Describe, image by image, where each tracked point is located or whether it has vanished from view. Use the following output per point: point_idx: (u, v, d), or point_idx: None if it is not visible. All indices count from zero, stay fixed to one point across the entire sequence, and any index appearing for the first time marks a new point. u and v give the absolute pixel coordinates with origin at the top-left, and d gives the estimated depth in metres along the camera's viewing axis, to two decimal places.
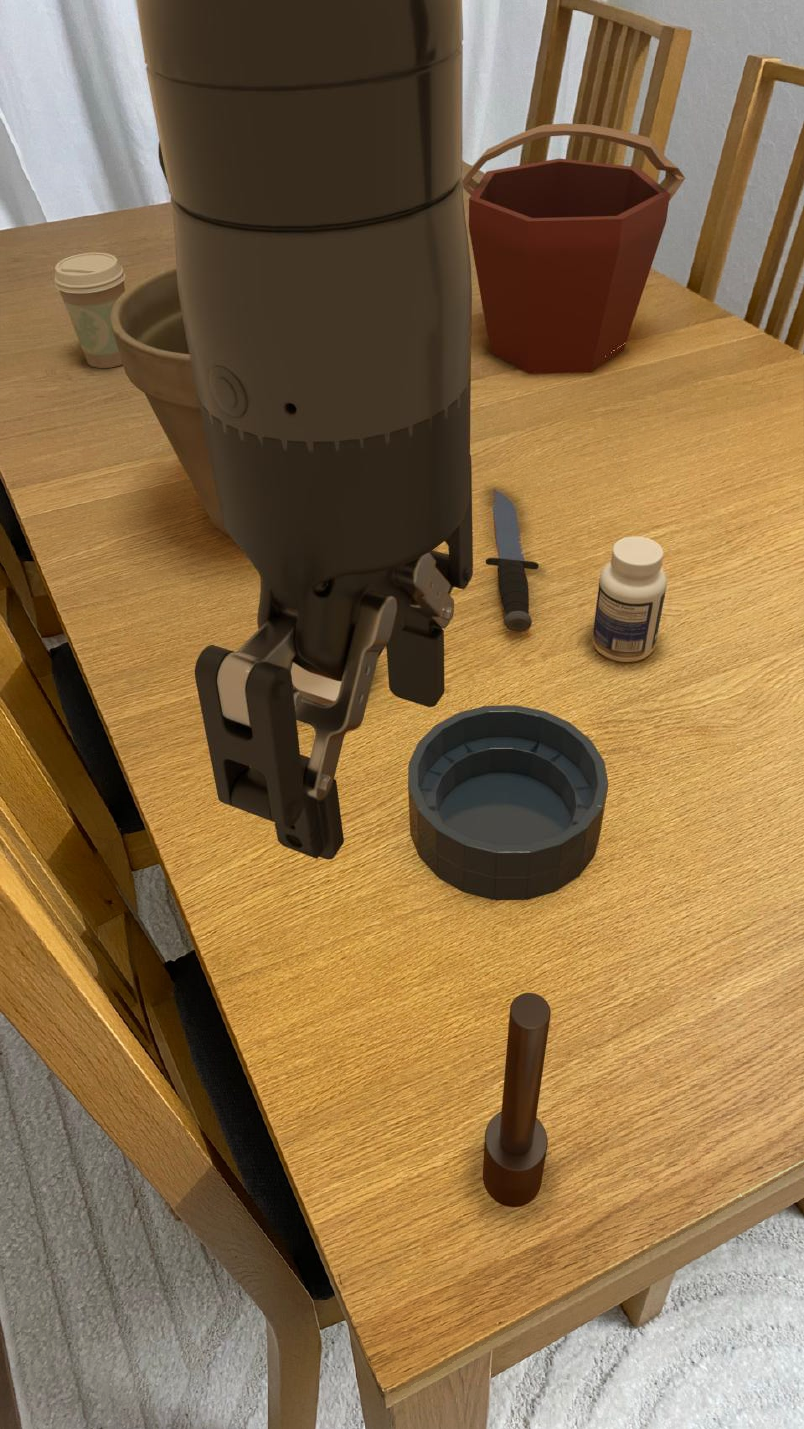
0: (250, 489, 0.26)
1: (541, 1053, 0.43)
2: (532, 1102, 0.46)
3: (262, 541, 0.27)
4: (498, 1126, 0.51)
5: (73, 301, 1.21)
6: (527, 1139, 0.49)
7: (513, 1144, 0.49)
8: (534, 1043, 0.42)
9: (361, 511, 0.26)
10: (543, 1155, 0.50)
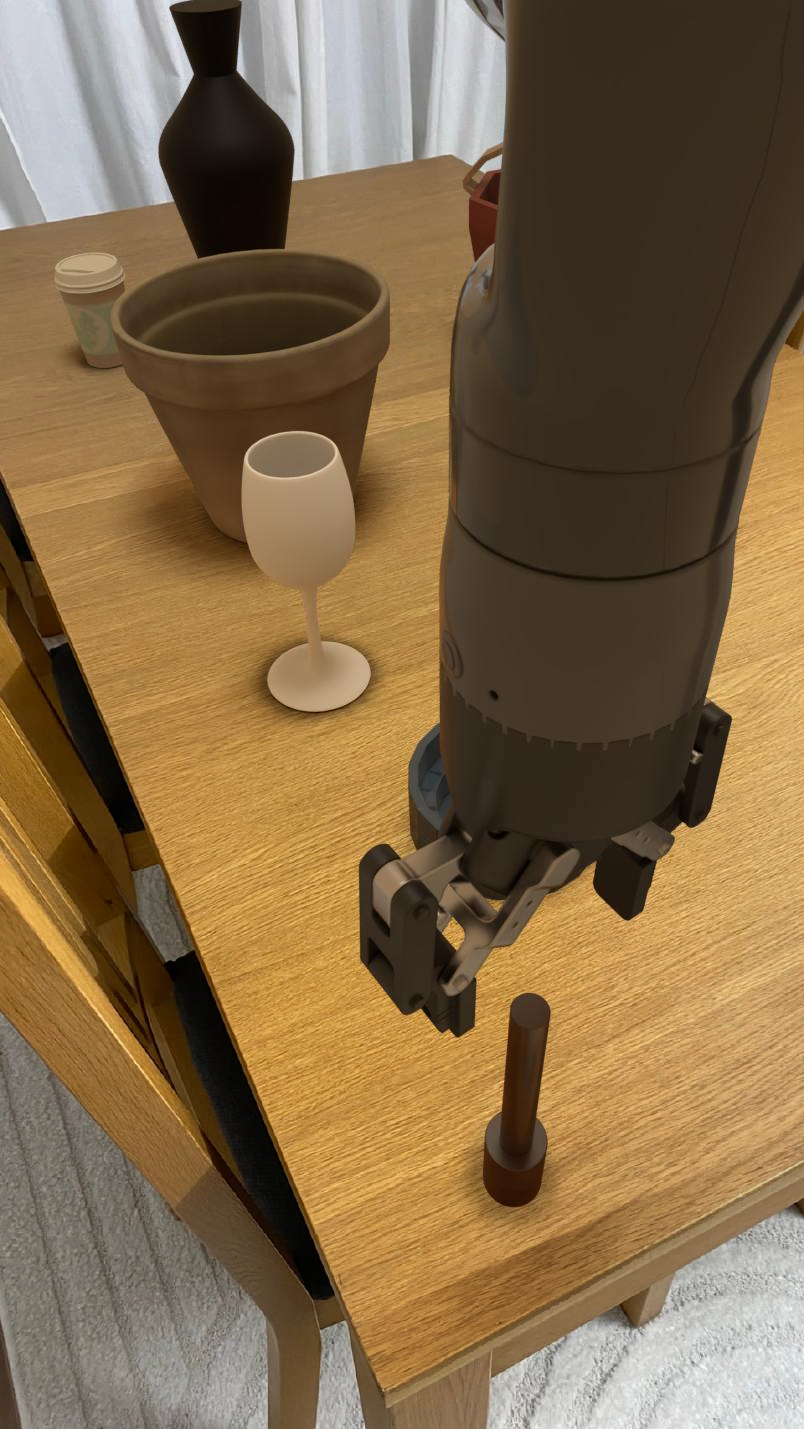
0: (454, 732, 0.28)
1: (541, 1053, 0.43)
2: (532, 1102, 0.46)
3: (456, 774, 0.29)
4: (498, 1126, 0.51)
5: (73, 301, 1.21)
6: (527, 1139, 0.49)
7: (513, 1144, 0.49)
8: (534, 1043, 0.42)
9: (541, 793, 0.27)
10: (543, 1155, 0.50)
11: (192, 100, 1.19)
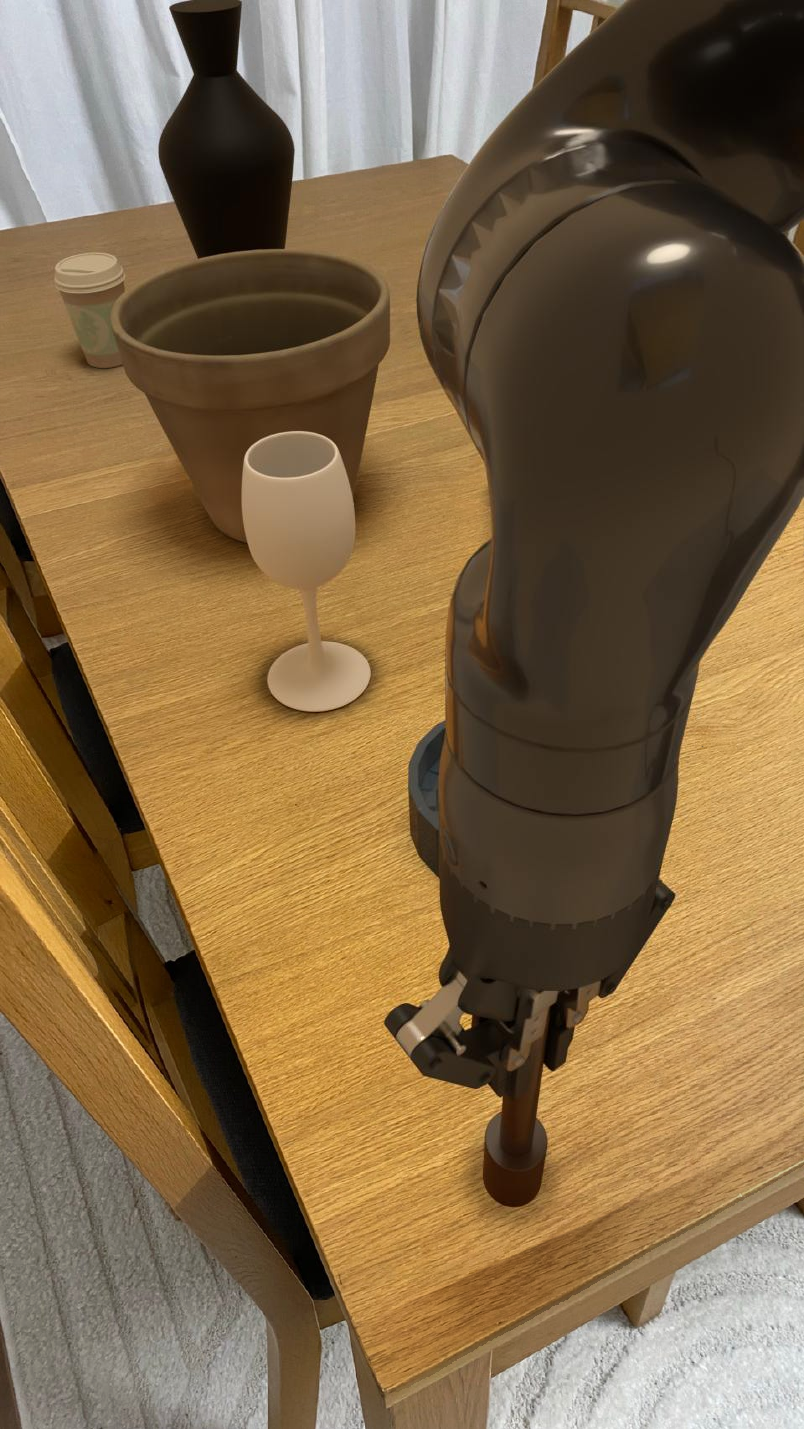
0: (451, 900, 0.33)
1: (541, 1053, 0.43)
2: (532, 1103, 0.46)
3: (453, 930, 0.34)
4: (498, 1126, 0.51)
5: (73, 301, 1.21)
6: (527, 1139, 0.49)
7: (513, 1144, 0.49)
8: (534, 1043, 0.42)
9: (523, 956, 0.32)
10: (543, 1155, 0.50)
11: (192, 100, 1.19)
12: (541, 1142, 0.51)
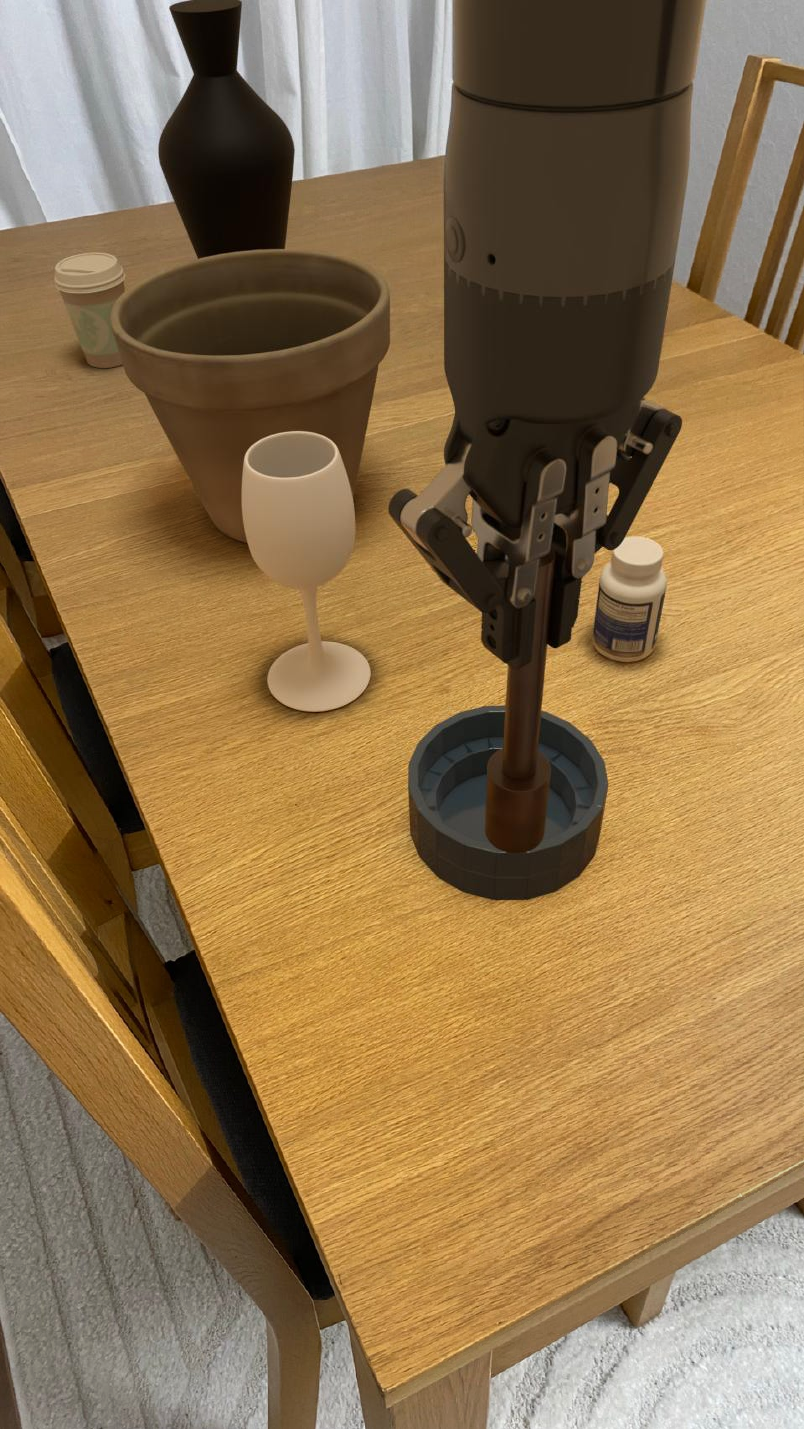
0: (457, 327, 0.33)
1: (545, 612, 0.42)
2: (536, 693, 0.45)
3: (459, 375, 0.34)
4: (500, 759, 0.51)
5: (73, 301, 1.21)
6: (530, 755, 0.48)
7: (516, 762, 0.49)
8: (538, 591, 0.41)
9: (532, 362, 0.31)
10: (547, 779, 0.49)
11: (192, 100, 1.19)
12: (544, 770, 0.50)
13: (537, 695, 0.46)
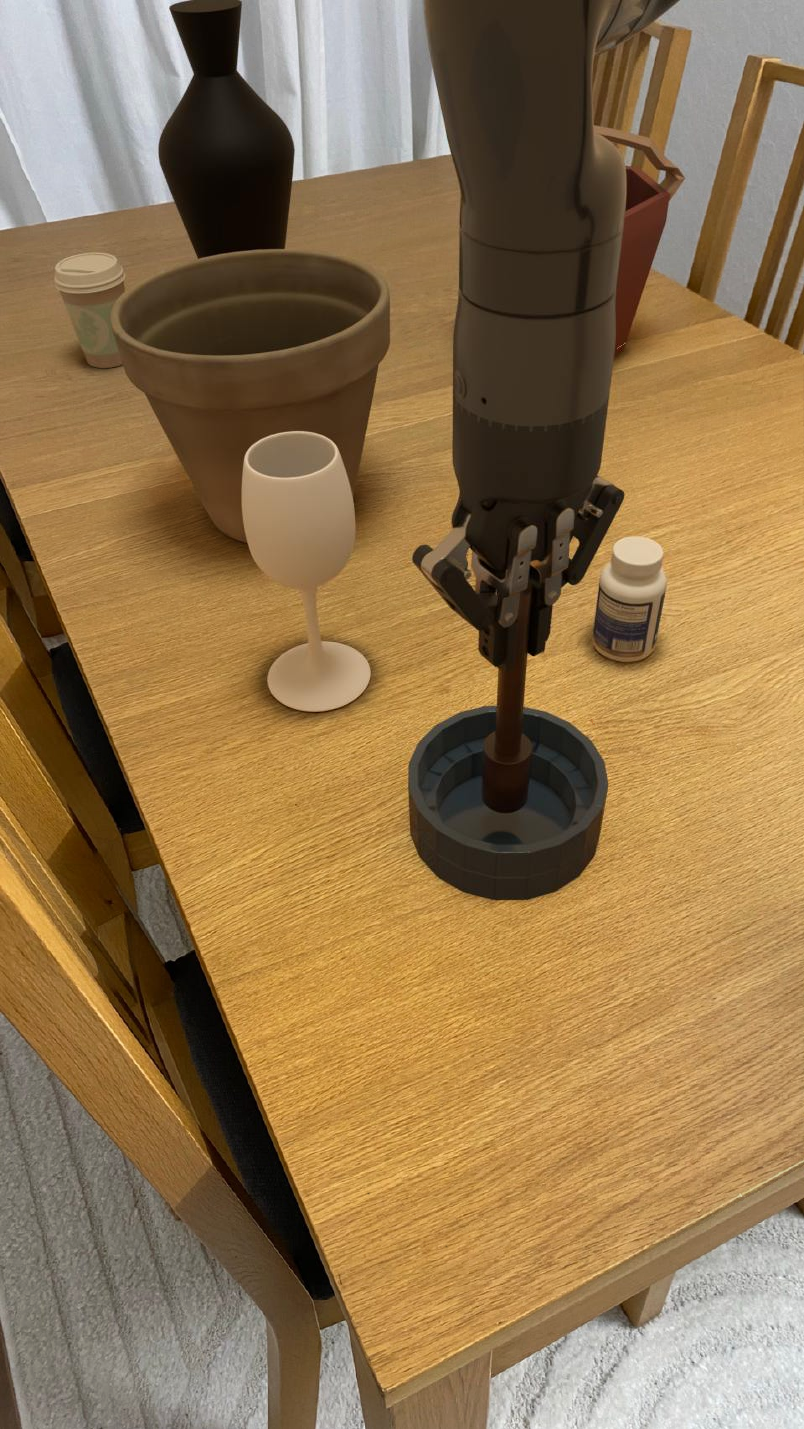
0: (461, 439, 0.48)
1: (525, 629, 0.58)
2: (519, 689, 0.61)
3: (462, 469, 0.49)
4: (493, 739, 0.66)
5: (73, 301, 1.21)
6: (516, 736, 0.64)
7: (505, 741, 0.64)
8: (520, 614, 0.57)
9: (511, 465, 0.47)
10: (528, 755, 0.65)
11: (192, 100, 1.19)
12: (527, 748, 0.65)
13: (520, 690, 0.61)
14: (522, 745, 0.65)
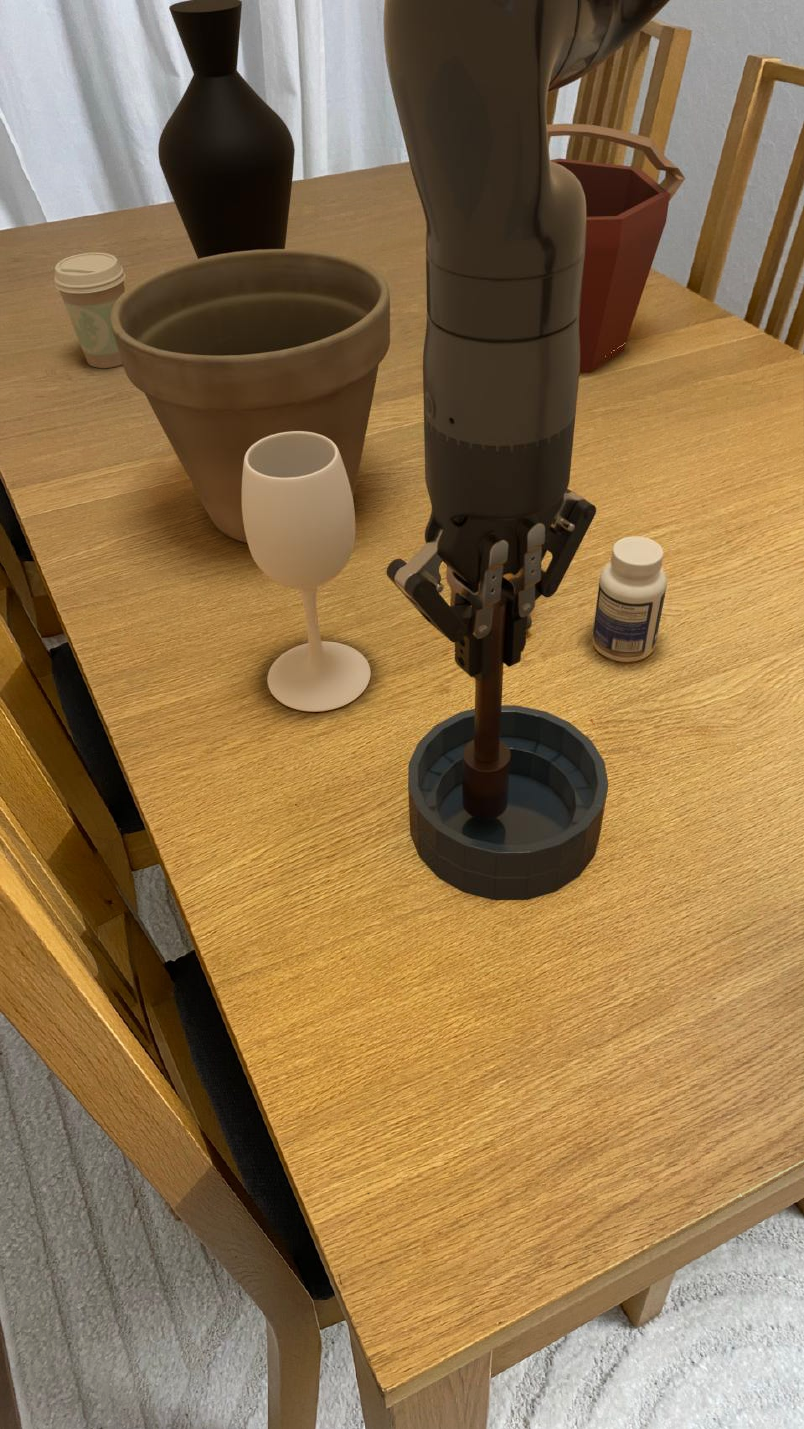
0: (432, 457, 0.49)
1: (500, 640, 0.59)
2: (496, 698, 0.62)
3: (433, 486, 0.50)
4: (473, 747, 0.67)
5: (73, 301, 1.21)
6: (494, 744, 0.65)
7: (483, 749, 0.65)
8: (494, 625, 0.58)
9: (479, 483, 0.48)
10: (506, 763, 0.66)
11: (192, 100, 1.19)
12: (505, 755, 0.67)
13: (497, 699, 0.62)
14: (501, 753, 0.67)
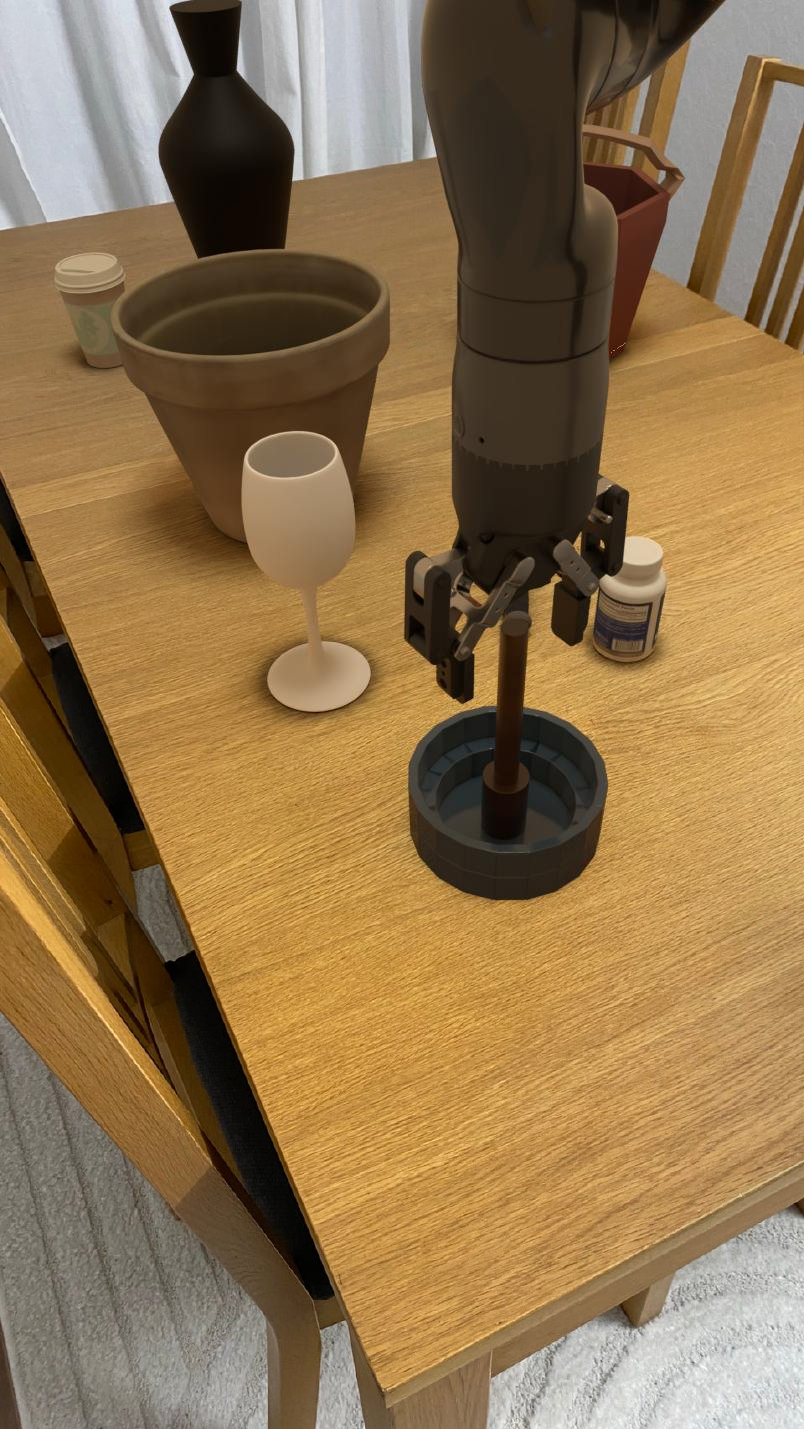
0: (460, 475, 0.50)
1: (522, 666, 0.60)
2: (517, 722, 0.63)
3: (461, 504, 0.51)
4: (492, 768, 0.68)
5: (73, 301, 1.21)
6: (514, 766, 0.66)
7: (503, 771, 0.66)
8: (517, 652, 0.59)
9: (508, 501, 0.48)
10: (526, 784, 0.67)
11: (192, 100, 1.19)
12: (525, 777, 0.67)
13: (518, 723, 0.63)
14: (520, 774, 0.67)
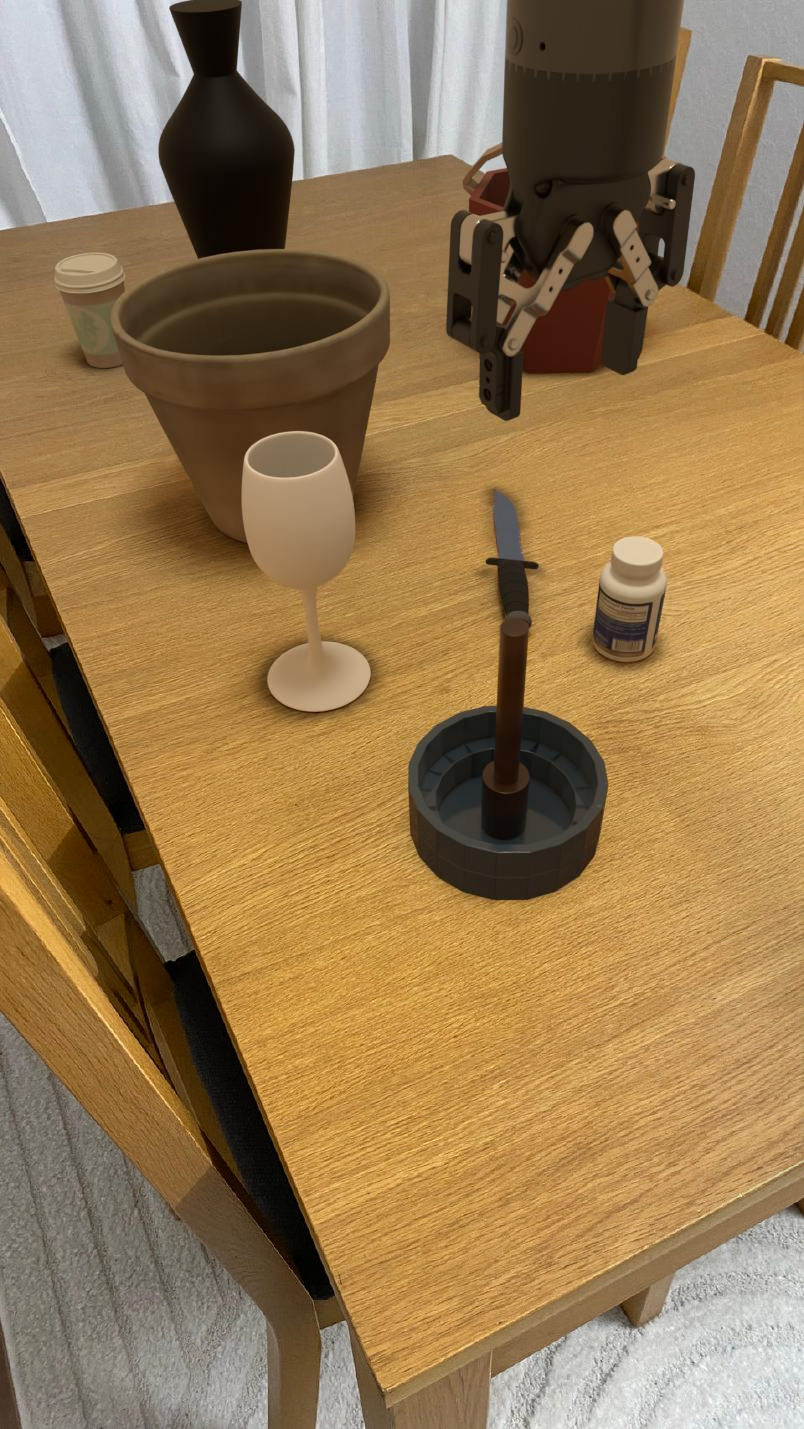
0: (514, 110, 0.44)
1: (522, 666, 0.60)
2: (517, 722, 0.63)
3: (514, 150, 0.45)
4: (492, 768, 0.68)
5: (73, 301, 1.21)
6: (514, 766, 0.66)
7: (503, 771, 0.66)
8: (517, 652, 0.59)
9: (570, 129, 0.43)
10: (526, 784, 0.67)
11: (192, 100, 1.19)
12: (525, 777, 0.67)
13: (518, 723, 0.63)
14: (520, 774, 0.67)
